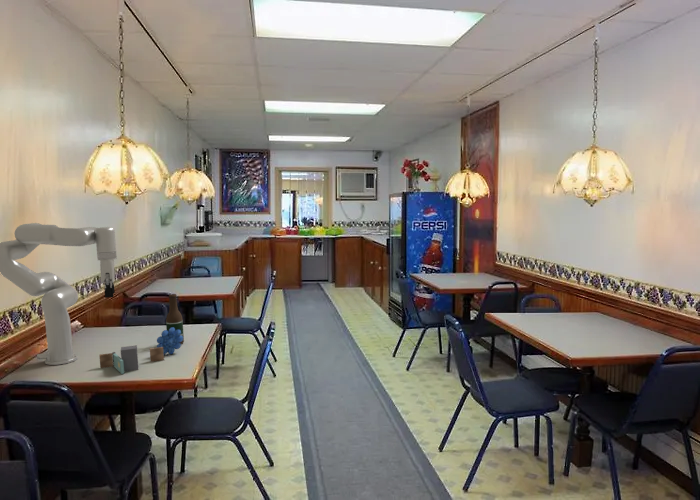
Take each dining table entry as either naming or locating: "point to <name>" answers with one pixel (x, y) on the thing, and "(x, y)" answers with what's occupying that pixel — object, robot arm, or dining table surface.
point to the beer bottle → (174, 316)
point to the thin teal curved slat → (118, 363)
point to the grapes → (170, 340)
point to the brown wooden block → (107, 359)
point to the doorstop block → (129, 358)
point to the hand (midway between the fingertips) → (110, 295)
